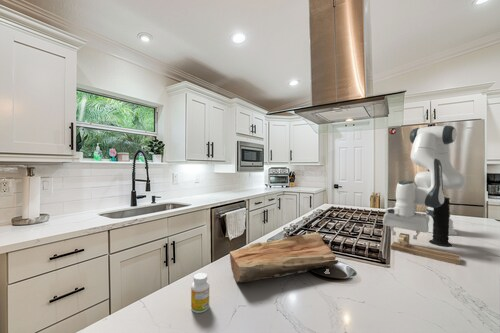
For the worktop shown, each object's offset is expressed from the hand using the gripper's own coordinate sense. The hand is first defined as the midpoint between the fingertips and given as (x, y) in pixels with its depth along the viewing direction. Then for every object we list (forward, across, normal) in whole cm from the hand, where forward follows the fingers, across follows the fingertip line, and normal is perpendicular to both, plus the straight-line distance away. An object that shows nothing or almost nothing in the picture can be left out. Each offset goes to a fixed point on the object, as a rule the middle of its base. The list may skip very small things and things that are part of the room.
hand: (404, 237), depth 123 cm
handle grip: (+5, -14, -18) cm, 24 cm away
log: (+6, +29, +70) cm, 76 cm away
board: (+5, -9, +6) cm, 12 cm away
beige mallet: (+5, 0, +3) cm, 6 cm away
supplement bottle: (+6, +35, +105) cm, 111 cm away
